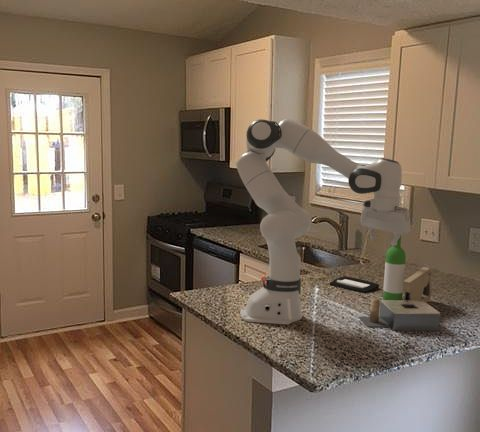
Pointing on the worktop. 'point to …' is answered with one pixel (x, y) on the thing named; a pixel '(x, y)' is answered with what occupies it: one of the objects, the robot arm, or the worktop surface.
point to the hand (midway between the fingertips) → (383, 242)
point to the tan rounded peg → (374, 310)
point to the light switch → (354, 284)
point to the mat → (370, 324)
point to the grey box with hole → (409, 315)
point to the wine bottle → (394, 272)
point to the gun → (418, 286)
